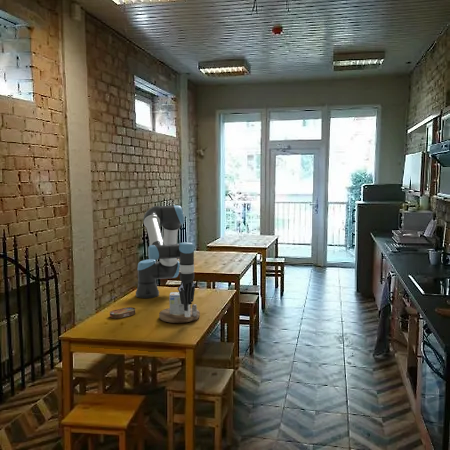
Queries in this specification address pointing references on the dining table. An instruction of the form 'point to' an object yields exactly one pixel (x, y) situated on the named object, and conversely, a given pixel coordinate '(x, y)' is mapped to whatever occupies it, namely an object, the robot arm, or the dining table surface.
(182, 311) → the light bulb box
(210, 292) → the dining table surface
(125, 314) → the tin
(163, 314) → the brown wide round piece
